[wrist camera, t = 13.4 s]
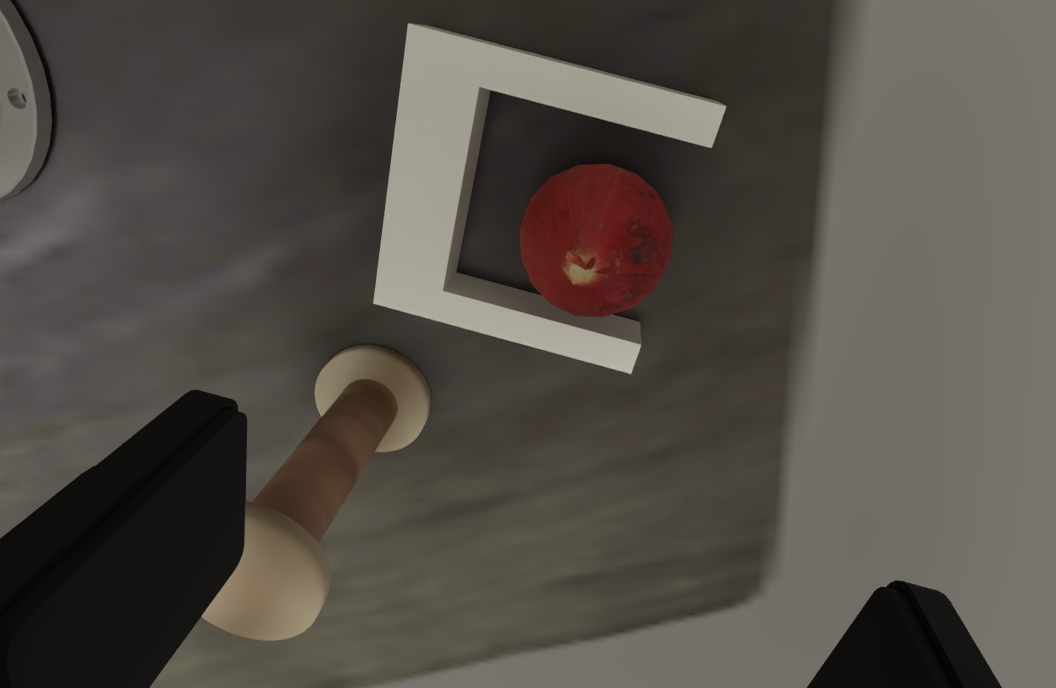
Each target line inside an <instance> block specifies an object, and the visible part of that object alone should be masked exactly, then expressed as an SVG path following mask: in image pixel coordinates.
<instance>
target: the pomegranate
mask: <svg viewBox="0 0 1056 688" xmlns="http://www.w3.org/2000/svg"><path fill="white" fill-rule="evenodd" d="M672 235H673V225H672V223H671V220H670V218H669V215H668V213H667V210H666V208H665V205H664V202H663V200H662V197H661V195H660V194H658V193H657V192H656V191H655V190H654V189H653V188H652V187H651V186H650V185H649V184H647V183H646V182H645V181H644V180H643V179H642V178H641V177H640V176H639V175H638V174H636V173H633V172H630V171H627V170H625V169H622V168H619V167H616V166H614V165H611V164H588V165H577V166H575V167H572V168H570V169H568V170H565V171H563V172H561V173H558V174H556V175H554V176H551V177H550V178H549V179H548V180H547V181H546V182H545V183H544V184H543V185H542V186H541V188H540V189H539V190H538V191H537V192H536V193H535V194H534V195H533V196H532V197H531V198H530V200H529V203H528V206H527V209H526V212H525V215H524V218H523V221H522V224H521V227H520V247H521V259H522V262H523V264H524V267H525V269H526V271H527V274H528V276H529V278H530V281H531V283H532V285H533V286H534V287H535V288H536V289H537V290H538V291H539V292H540V293H541V294H542V295H543V297H544V298H545V299H546V300H547V301H548V302H549V303H550V304H551V305H553V306H555V307H557V308H560V309H562V310H564V311H566V312H569V313H571V314H573V315H575V316H587V317H604V316H608V315H611V314H614V313H618V312H621V311H625V310H629V309H631V308H632V307H633V306H635V305H636V304H637V303H639V302H640V301H641V300H643V299H644V298H645V297H646V296H648V295H649V294H650V293H652V292H653V290H654V288H655V287H656V285H657V283H658V281H659V279H660V278H661V276H662V274H663V272H664V271H665V269H666V267H667V265H668V264H669V262H670V260H671V248H672Z"/></svg>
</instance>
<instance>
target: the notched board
mask: <svg viewBox="0 0 1056 688" xmlns="http://www.w3.org/2000/svg"><path fill="white" fill-rule="evenodd" d="M491 90H492V91H496V92H500V93H504V94H508V95H511V96H515V97H519V98H523V99H527V100H530V101H534V102H538V103H542V104H546V105H549V106H553V107H557V108H561V109H565V110H568V111H572V112H576V113H580V114H584V115H587V116H591V117H595V118H599V119H603V120H606V121H610V122H614V123H618V124H622V125H625V126H629V127H633V128H637V129H641V130H644V131H648V132H652V133H656V134H660V135H663V136H667V137H671V138H675V139H679V140H682V141H686V142H690V143H694V144H698V145H701V146H705V147H709V148H712V146H713V143H714V140H715V137H716V135H717V132H718V129H719V126H720V123H721V120H722V118H723V115H724V112H725V109H726V106H725V105H723V104H721V103H720V102H718V101H715V100H711V99H707V98H703V97H700V96H696V95H692V94H688V93H684V92H681V91H677V90H673V89H669V88H665V87H661V86H658V85H654V84H650V83H646V82H642V81H638V80H635V79H631V78H627V77H623V76H619V75H615V74H612V73H608V72H604V71H600V70H596V69H593V68H589V67H585V66H581V65H577V64H573V63H570V62H566V61H562V60H558V59H554V58H550V57H547V56H543V55H539V54H535V53H531V52H527V51H524V50H520V49H516V48H512V47H508V46H505V45H501V44H497V43H493V42H489V41H485V40H482V39H478V38H474V37H470V36H466V35H462V34H459V33H455V32H451V31H447V30H443V29H439V28H436V27H432V26H428V25H420V24H411V23H408V29H407V37H406V45H405V53H404V61H403V69H402V77H401V85H400V93H399V101H398V109H397V117H396V125H395V133H394V141H393V149H392V158H391V166H390V174H389V182H388V190H387V198H386V206H385V214H384V222H383V230H382V238H381V246H380V254H379V262H378V270H377V278H376V286H375V294H374V302H373V304H377V305H381V306H384V307H388V308H391V309H395V310H399V311H402V312H406V313H410V314H413V315H417V316H421V317H424V318H428V319H432V320H435V321H439V322H443V323H446V324H450V325H454V326H457V327H461V328H465V329H468V330H472V331H476V332H479V333H483V334H487V335H490V336H494V337H498V338H501V339H505V340H509V341H512V342H516V343H520V344H523V345H527V346H531V347H534V348H538V349H542V350H545V351H549V352H553V353H556V354H560V355H564V356H567V357H571V358H575V359H578V360H582V361H586V362H589V363H593V364H597V365H600V366H604V367H608V368H611V369H615V370H619V371H622V372H626V373H630V374H631V373H632V370H633V367H634V364H635V361H636V359H637V356H638V353H639V350H640V347H641V329H640V322H638V321H634V320H631V319H627V318H623V317H620V316H616V315H612V314H611V315H608V316H604V317H587V316H575V315H573V314H571V313H569V312H566V311H564V310H562V309H560V308H557V307H555V306H553V305H551V304H550V303H549V302H548V301H547V300H546V299H545V298H544V297H543V296H542V295H538V294H535V293H531V292H527V291H524V290H520V289H516V288H513V287H509V286H505V285H501V284H498V283H494V282H490V281H487V280H483V279H479V278H476V277H472V276H468V275H465V274H461V273H457V267H458V262H459V256H460V251H461V246H462V240H463V235H464V230H465V225H466V219H467V214H468V209H469V203H470V198H471V193H472V187H473V182H474V177H475V171H476V166H477V161H478V155H479V150H480V145H481V139H482V134H483V129H484V123H485V118H486V113H487V107H488V102H489V97H490V92H491Z"/></svg>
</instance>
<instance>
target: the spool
mask: <svg viewBox="0 0 1056 688" xmlns="http://www.w3.org/2000/svg"><path fill="white" fill-rule="evenodd" d="M315 401H316V405H317V408H318V411H319V413H320V415H321V419H320V420H319V421H318V422H317V424H316V425H315V426H314V427H313V428H312V430H311V431H310V432H309V433H308V435H307V436H306V437H305V438H304V439H303V441H302V442H301V443H300V444H299V446H298V447H297V448H296V449H295V450H294V452H293V453H292V454H291V455H290V457H289V458H288V459H287V460H286V461H285V463H284V464H283V465H282V466H281V468H280V469H279V470H278V471H277V472H276V474H275V475H274V476H273V477H272V479H271V480H270V481H269V482H268V483H267V485H266V486H265V487H264V488H263V490H262V491H261V492H260V493H259V494H258V496H257V497H256V498H255V499H254V501H253V502H245V544H244V551H243V554H242V557H241V560H240V562H239V564H238V566H237V568H236V569H235V571H234V572H233V574H232V575H231V576H230V578H229V579H228V581H227V582H226V583H225V585H224V586H223V587H222V589H221V590H220V591H219V593H218V594H217V596H216V597H215V598H214V600H213V601H212V602H211V604H210V605H209V607H208V608H207V609H206V611H205V612H204V613H203V615H202V616H201V617H203V618H204V619H205V620H207V621H208V622H210V623H212V624H213V625H215V626H217V627H219V628H221V629H223V630H225V631H228V632H230V633H233V634H236V635H239V636H242V637H246V638H250V639H256V640H268V641H271V640H282V639H287V638H291V637H294V636H296V635H298V634H301V633H302V632H304V631H305V630H307V629H308V628H309V627H310V626H311V625H312V623H313V622H314V620H315V619H316V617H317V615H318V613H319V612H320V610H321V608H322V606H323V604H324V602H325V600H326V599H327V597H328V595H329V592H330V590H331V585H332V573H331V567H330V564H329V561H328V559H327V557H326V554H325V552H324V551H323V549H322V548H321V546H320V545H319V541H320V540H321V538H322V537H323V535H324V533H325V532H326V530H327V528H328V527H329V525H330V524H331V522H332V520H333V519H334V517H335V516H336V514H337V512H338V511H339V509H340V507H341V506H342V504H343V503H344V501H345V499H346V498H347V496H348V494H349V493H350V491H351V490H352V488H353V486H354V485H355V483H356V481H357V480H358V478H359V477H360V475H361V473H362V472H363V470H364V468H365V467H366V465H367V464H368V462H369V460H370V459H371V457H372V455H373V454H374V452H390V451H395V450H398V449H401V448H403V447H405V446H407V445H409V444H410V443H411V442H413V441H414V440H415V439H416V438H417V437H418V435H419V434H420V432H421V431H422V429H423V427H424V425H425V423H426V421H427V419H428V417H429V414H430V410H431V394H430V390H429V387H428V384H427V382H426V380H425V378H424V376H423V375H422V373H421V372H420V370H419V369H418V368H417V367H416V366H415V365H414V364H413V363H412V362H411V361H410V360H409V359H407V358H406V357H405V356H403V355H402V354H400V353H398V352H396V351H394V350H392V349H390V348H387V347H384V346H379V345H373V344H361V345H355V346H351V347H348V348H346V349H344V350H342V351H340V352H339V353H338V354H336V355H335V356H334V357H333V358H332V359H331V360H330V361H329V362H328V363H327V365H326V366H325V367H324V368H323V369H322V371H321V372H320V374H319V376H318V378H317V381H316V385H315Z"/></svg>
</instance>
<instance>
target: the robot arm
mask: <svg viewBox="0 0 1056 688" xmlns="http://www.w3.org/2000/svg"><path fill="white" fill-rule="evenodd" d="M51 127H52V114H51V102H50V93H49V89H48V85H47V80H46V76H45V72H44V68H43V65H42V62H41V60H40V57H39V55H38V52H37V50H36V47H35V45H34V42H33V40H32V37H31V35H30V33H29V31H28V30H27V28H26V26H25V24H24V22H23V21H22V19H21V17H20V15H19V13H18V12H17V10H16V8H15V6H14V5H13V3H12V2H11V1H10V0H0V201H2V200H4V199H7V198H9V197H11V196H14V195H16V194H18V193H19V192H20V191H21V190H23V189H24V188H25V187H26V186H27V185H29V184H30V183H31V182H32V181H33V179H34V178H35V176H36V175H37V173H38V172H39V170H40V169H41V167H42V166H43V163H44V160H45V157H46V154H47V151H48V148H49V145H50V136H51ZM246 454H247V417H246V415H245V414H244V413H242V412H238V405H237V403H236V401H234V400H232V399H229V398H226V397H222V396H218V395H214V394H211V393H207V392H203V391H200V390H191V391H189V392H188V393H186V394H185V395H183V396H182V397H181V398H180V399H178V400H177V401H176V402H175V403H173V404H172V405H171V406H170V407H168V408H167V409H166V410H165V411H163V412H162V413H161V414H160V415H158V416H157V417H156V418H155V419H153V420H152V421H151V422H150V423H148V424H147V425H146V426H145V427H143V428H142V429H141V430H140V431H138V432H137V433H136V434H135V435H133V436H132V437H131V438H130V439H128V440H127V441H126V442H125V443H123V444H122V445H121V446H120V447H119V448H117V449H116V450H115V451H114V452H112V453H111V454H110V455H109V456H107V457H106V458H105V459H104V460H102V461H101V462H100V463H99V464H97V465H96V466H93V467H92V468H90V469H89V470H87V471H85V472H84V473H82V474H81V475H80V476H78V477H77V478H76V479H75V480H73V481H72V482H71V483H70V484H68V485H67V486H66V487H65V488H63V489H62V490H61V491H60V492H58V493H57V494H56V495H55V496H53V497H52V498H51V499H50V500H48V501H47V502H46V503H44V504H43V505H42V506H41V507H39V508H38V509H37V510H36V511H34V512H33V513H32V514H31V515H29V516H28V517H27V518H26V519H24V520H23V521H22V522H21V523H19V524H18V525H17V526H16V527H14V528H13V529H12V530H11V531H9V532H8V533H7V534H6V535H4V536H3V537H2V538H1V539H0V688H149V687H150V686H151V684H152V683H153V682H154V680H155V679H156V678H157V676H158V675H159V674H160V672H161V671H162V669H163V668H164V667H165V665H166V664H167V663H168V661H169V660H170V658H171V657H172V656H173V654H174V653H175V652H176V650H177V649H178V648H179V646H180V645H181V643H182V642H183V641H184V639H185V638H186V637H187V635H188V634H189V633H190V631H191V630H192V628H193V627H194V626H195V624H196V623H197V622H198V620H199V619H200V617H201V616H202V615H203V613H204V612H205V611H206V609H207V608H208V607H209V605H210V604H211V602H212V601H213V600H214V598H215V597H216V596H217V594H218V593H219V591H220V590H221V589H222V587H223V586H224V585H225V583H226V582H227V581H228V579H229V578H230V576H231V575H232V574H233V572H234V571H235V569H236V568H237V566H238V564H239V562H240V560H241V557H242V554H243V551H244V544H245V500H246ZM807 688H1002V687H1001V685H1000V684H999V682H998V680H997V679H996V677H995V675H994V674H993V672H992V670H991V669H990V667H989V665H988V664H987V662H986V660H985V659H984V657H983V655H982V654H981V652H980V651H979V649H978V647H977V646H976V644H975V642H974V641H973V639H972V637H971V635H970V634H969V632H968V630H967V629H966V627H965V625H964V624H963V622H962V620H961V619H960V617H959V615H958V614H957V612H956V610H955V609H954V607H953V605H952V604H951V602H950V601H949V599H948V598H947V597H946V596H945V595H944V594H943V593H941V592H939V591H937V590H933V589H929V588H926V587H922V586H918V585H915V584H911V583H907V582H904V581H894V582H891V583H890V584H889V585H888V586H887V587H880V588H878V589H877V590H876V591H874V593H873V594H872V595H871V597H870V598H869V600H868V601H867V603H866V604H865V605H864V607H863V608H862V610H861V611H860V613H859V614H858V615H857V617H856V618H855V620H854V621H853V623H852V624H851V625H850V627H849V628H848V630H847V631H846V633H845V634H844V635H843V637H842V638H841V640H840V641H839V643H838V644H837V646H836V647H835V648H834V650H833V651H832V653H831V654H830V655H829V657H828V658H827V660H826V661H825V663H824V664H823V665H822V667H821V668H820V670H819V671H818V673H817V674H816V676H815V677H814V678H813V680H812V681H811V683H810V684H809V685H808V687H807Z"/></svg>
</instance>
